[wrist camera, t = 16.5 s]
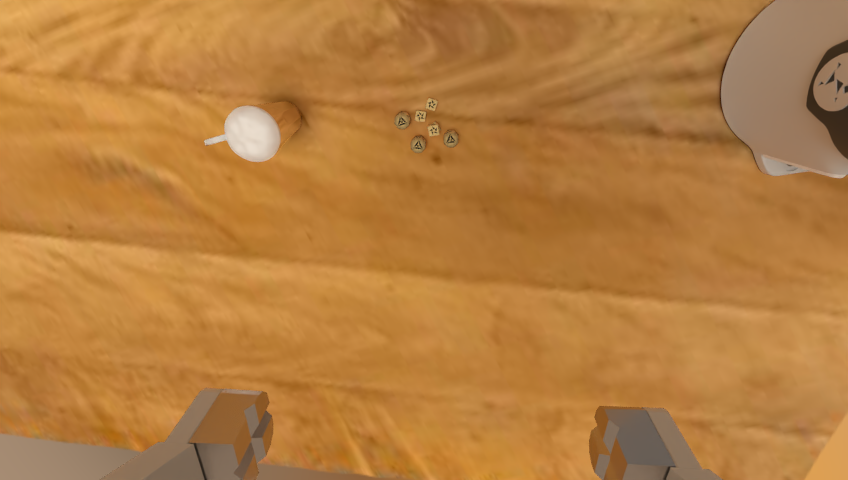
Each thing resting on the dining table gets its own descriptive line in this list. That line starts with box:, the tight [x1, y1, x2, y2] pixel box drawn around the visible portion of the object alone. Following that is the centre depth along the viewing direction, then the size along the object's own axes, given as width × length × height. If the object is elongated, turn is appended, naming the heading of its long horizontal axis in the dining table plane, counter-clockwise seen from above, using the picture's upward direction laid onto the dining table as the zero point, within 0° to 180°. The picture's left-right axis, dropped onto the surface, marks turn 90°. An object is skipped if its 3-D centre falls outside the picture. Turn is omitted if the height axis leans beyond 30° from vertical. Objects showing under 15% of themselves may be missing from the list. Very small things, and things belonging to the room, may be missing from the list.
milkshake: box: [204, 101, 302, 162], centre depth 38 cm, size 5×5×10 cm
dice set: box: [394, 98, 458, 153], centre depth 42 cm, size 5×5×2 cm
